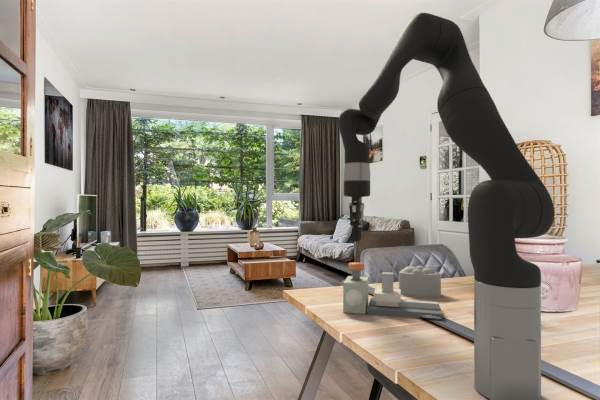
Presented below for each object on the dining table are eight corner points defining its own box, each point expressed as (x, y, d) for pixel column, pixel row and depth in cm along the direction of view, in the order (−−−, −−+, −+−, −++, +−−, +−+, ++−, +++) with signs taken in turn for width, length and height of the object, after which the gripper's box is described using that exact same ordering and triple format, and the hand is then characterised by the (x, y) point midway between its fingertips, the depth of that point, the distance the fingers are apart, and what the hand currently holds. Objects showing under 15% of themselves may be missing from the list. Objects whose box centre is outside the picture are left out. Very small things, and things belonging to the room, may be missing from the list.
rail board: (442, 319, 97) (442, 308, 97) (367, 313, 101) (367, 302, 101) (438, 309, 106) (438, 298, 106) (370, 304, 111) (370, 294, 111)
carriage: (400, 308, 101) (400, 276, 101) (373, 306, 102) (373, 274, 103) (400, 301, 107) (400, 271, 108) (375, 299, 109) (375, 270, 109)
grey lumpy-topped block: (402, 288, 133) (402, 263, 133) (441, 292, 128) (442, 266, 128) (397, 295, 123) (397, 268, 123) (439, 299, 118) (439, 271, 118)
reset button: (363, 288, 105) (363, 265, 105) (347, 288, 106) (347, 264, 106) (364, 285, 109) (365, 262, 109) (349, 284, 110) (349, 262, 110)
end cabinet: (365, 314, 101) (365, 284, 101) (343, 312, 103) (343, 282, 103) (368, 304, 111) (368, 277, 111) (348, 302, 113) (348, 275, 113)
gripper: (368, 178, 100) (368, 243, 100) (372, 181, 113) (371, 238, 113) (339, 178, 102) (339, 242, 101) (346, 181, 115) (346, 238, 115)
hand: (356, 240), depth 107 cm, fingers open, 3 cm apart
